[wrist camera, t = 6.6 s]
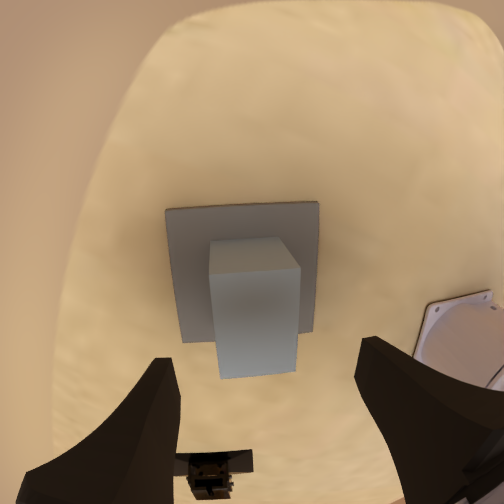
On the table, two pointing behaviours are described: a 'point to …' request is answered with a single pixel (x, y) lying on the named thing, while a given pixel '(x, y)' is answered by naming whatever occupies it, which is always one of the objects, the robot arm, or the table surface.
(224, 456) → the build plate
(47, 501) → the robot arm
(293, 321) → the brick
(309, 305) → the mat
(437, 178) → the table surface
